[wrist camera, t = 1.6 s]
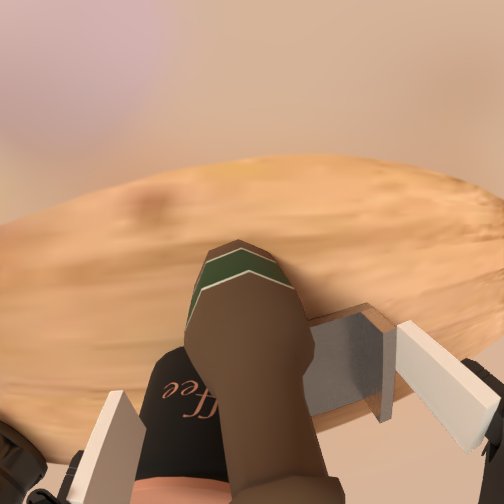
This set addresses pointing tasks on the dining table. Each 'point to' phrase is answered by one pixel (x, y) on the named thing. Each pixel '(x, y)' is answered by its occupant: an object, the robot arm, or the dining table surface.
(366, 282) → the dining table surface
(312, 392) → the bracket
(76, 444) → the dining table surface
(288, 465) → the beer bottle
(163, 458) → the coffee jar
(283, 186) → the dining table surface
